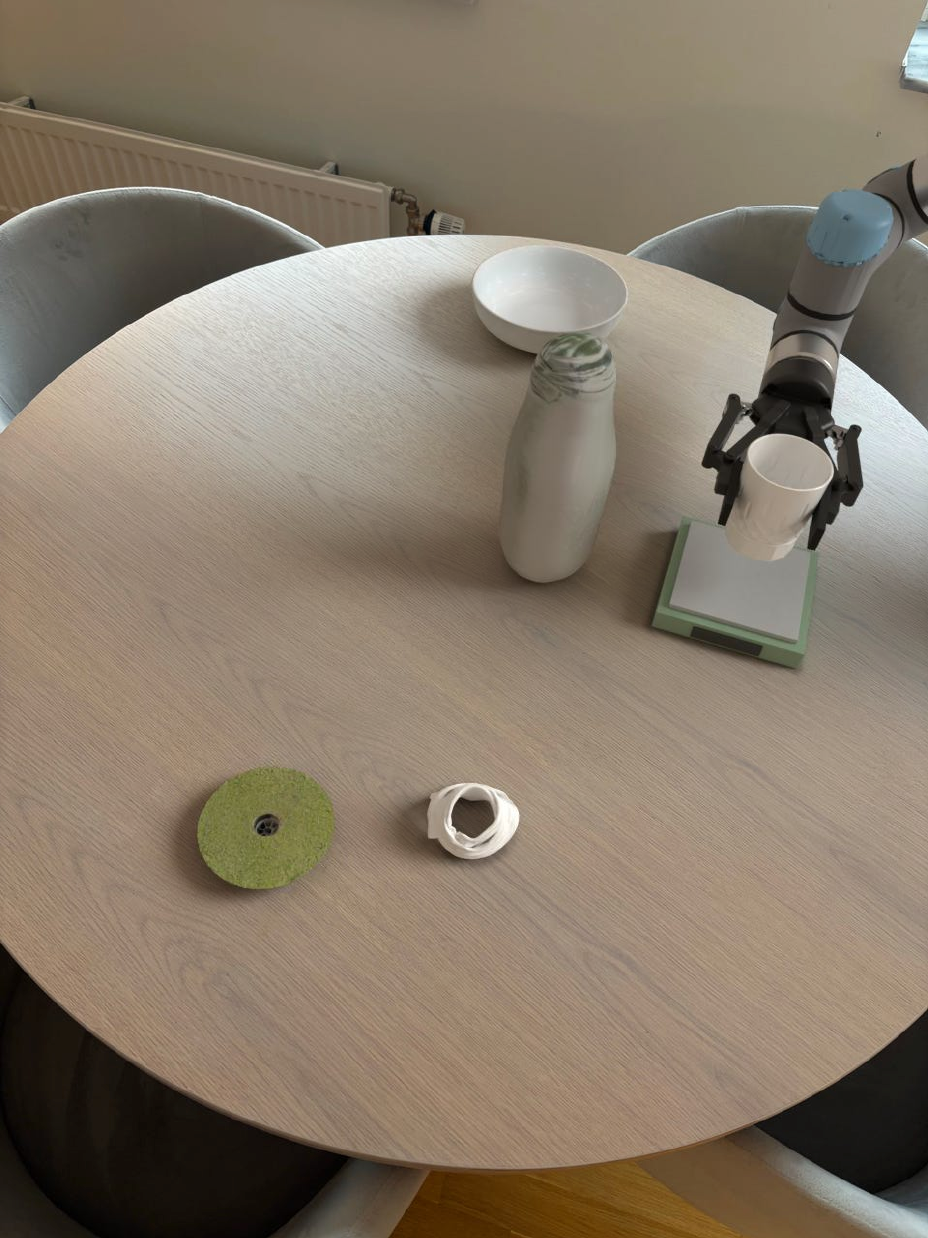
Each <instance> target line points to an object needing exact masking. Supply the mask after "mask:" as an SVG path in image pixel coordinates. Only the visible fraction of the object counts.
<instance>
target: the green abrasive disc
mask: <svg viewBox="0 0 928 1238" xmlns="http://www.w3.org/2000/svg"><path fill="white" fill-rule="evenodd" d="M334 831H335V813H334V809H333V805H332V802H331V800H330V797H329V796H328V794H327V792H326V791H325V790H324V788H323V787H322V786H321V785H320V784H319V783H318V782H317V781H316V780H315V779H314V778H312V777H310V776H309V775H307V774H306V773H303V772H301V771H298V770H297V769H292V768H288V767H285V766H274V765H273V766H262V767H260V766H259V767H255V768H251V769H250V770H246V771H244V772H241V773H239V774H237V775H235V776H233V777H231V778H229V779H228V780H226V781H225V782H224V783H223V784H222V785H220V786H219V787H218V788H217V789H215V791H214V792H213V793H212V794H211V796H210V797H209V798H208V799H207V801H206V803H205V805H204V807H203V809H202V811H201V813H200V817H199V819H198V823H197V834H196V835H197V836H196V837H197V843H198V849H199V851H200V854H201V856H202V859H203V861H204V862H205V864H206V865H207V867H208V868H210V870H211V872H213V873H214V874H215V875H216V876H218V877H219V878H220V879H222V880H224V881H226V882H228V883H229V884H231V885H233V886H238V887H240V888H242V889H252V890H262V889H263V890H266V889H274V888H279V887H282V886H285V885H288V884H291V883H293V882H295V881H298V879H300V878H302V877H304V876H305V875H306V874H307V873H309V872H310V871H311V870H312V869H313V868H315V866H316V865H317V864H318V863H319V862H320V860H321V859H322V858H323V857H324V855H325V854H326V852H327V851H328V850H329V849H328V848H329V846H330V845H331V842H332V839H333V836H334Z"/></svg>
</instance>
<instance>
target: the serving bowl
mask: <svg viewBox="0 0 928 1238" xmlns="http://www.w3.org/2000/svg"><path fill="white" fill-rule="evenodd" d="M470 286H471V295H472V301H473V306H474V309H475V311H476V313H477V316H478V318H479V320H480V321H481V322H482V324H483V325H484V326H485V327H486V328H487V330H488V331H489V332H490V333H491V334H492V335H493V336H495V337H496V338H497V339H499V340H500V341H502V342H503V343H505V344H507V345H509V346H510V347H513V348H515V349H517V350H521V351H524V352H527V353H532V354H538V353H539V351H540V350H541V349H542V347H543V346H544V345H545V344H546V343H547V342H549V341H550V340H552V339H554V338H555V337H558V336H560V335H564V334H567V333H574V332H584V333H590V334H592V335H595V336H597V337H600V338H602V340H603V341H604V339H605V338H607V337H608V336H609V335H610V334H611V333H612V332H613V331H614V329H615V328H616V327H617V325H618V324H619V323H620V321H621V319H622V317H623V314H624V312H625V309H626V307H627V304H628V301H629V289H628V286H627V283H626V281H625V280H624V277H623V276H622V275H621V273H619V272H618V271H617V270H616V269H615V268H614V267H612V266H611V265H610V264H609V263H607V262H605V261H604V260H603V259H600V258H598V257H596V256H595V255H592V254H589V253H587V252H584V251H581V250H578V249H574V248H569V247H566V246H565V247H564V246H559V245H549V244H545V245H544V244H534V245H531V244H530V245H522V246H516V247H511V248H507V249H505V250H501V251H499V252H496V253H494V254H493V255H490V256H489V257H487V258H486V259H484V260H483V261H482V262H480V264H479V265H477V267H476V268H475V270H474V272H473V274H472V277H471V281H470Z"/></svg>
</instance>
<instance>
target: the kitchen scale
mask: <svg viewBox="0 0 928 1238" xmlns="http://www.w3.org/2000/svg"><path fill="white" fill-rule="evenodd" d="M725 529H726V526H722V525H719V524H714V523H712V522H711V523H710V522H706V521H703V520H699V519H696V518H692V517H688V516H686V515H685V516H684V515H683V516H682V519H681V522H680V525H679V528H678V531H677V534H676V538H675V541H674V545H673V548H672V552H671V556H670V558H669V563H668V566H667V569H666V573H665V577H664V581H663V584H662V587H661V591H660V594H659V598H658V601H657V604H656V609H655V612H654V616H653V619H652V623H651V627H653V628H655V629H660V630H661V631H665V632H669V633H673V634H675V635H679V636H683V637H687V638H690V639H693V640H696V641H700V642H703V643H705V644H706V643H707V644H710V645H714V646H717V647H721V648H724V649H727V650H729V651H734V652H737V653H741V654H744V655H747V656H751V657H754V658H758V659H762V660H765V661H768V662H771V663H775V664H779V665H781V666H785V667H788V668H791V669H795V670H796V669H797V670H798V668H799V666H800V664H801V662H802V660H803V659H804V657H805V655H806V649H807V641H808V633H809V627H810V621H811V611H812V607H813V600H814V599H813V598H814V591H815V584H816V577H817V570H818V569H817V568H818V564H819V563H818V562H819V556H820V553H819V552H817V551H813V550H809V549H807V548H802V547H800V546H799V547H798V546H795V545H794V546H793V548H792V550H791V551H790V552H789V553H788V554H787V555H786V556H785V557H784V558H781V559H778V560H774V561H770V562H769V561H759V560H753V559H751V558H749V557H746V556H744V555H742V554H740V553H739V552H738V551H736V550H735V549H734V548H733V547H732V546H731V545H730V544H729V542H728V540H727V537H726V535H725Z"/></svg>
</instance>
